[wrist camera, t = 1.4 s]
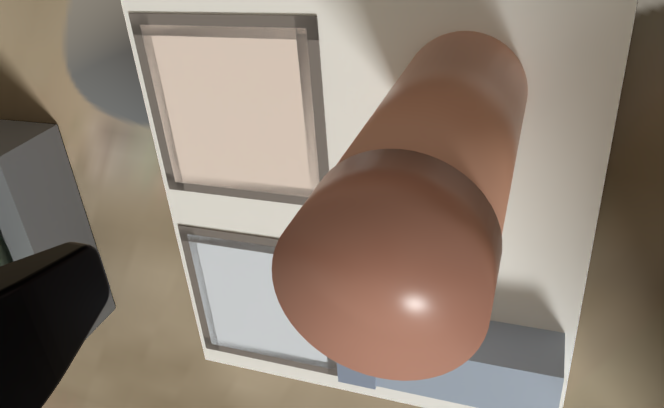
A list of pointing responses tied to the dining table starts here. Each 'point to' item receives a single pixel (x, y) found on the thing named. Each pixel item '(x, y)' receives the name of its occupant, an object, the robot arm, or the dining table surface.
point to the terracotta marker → (411, 218)
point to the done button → (4, 253)
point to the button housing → (40, 194)
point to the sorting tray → (340, 131)
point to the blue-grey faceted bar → (492, 372)
